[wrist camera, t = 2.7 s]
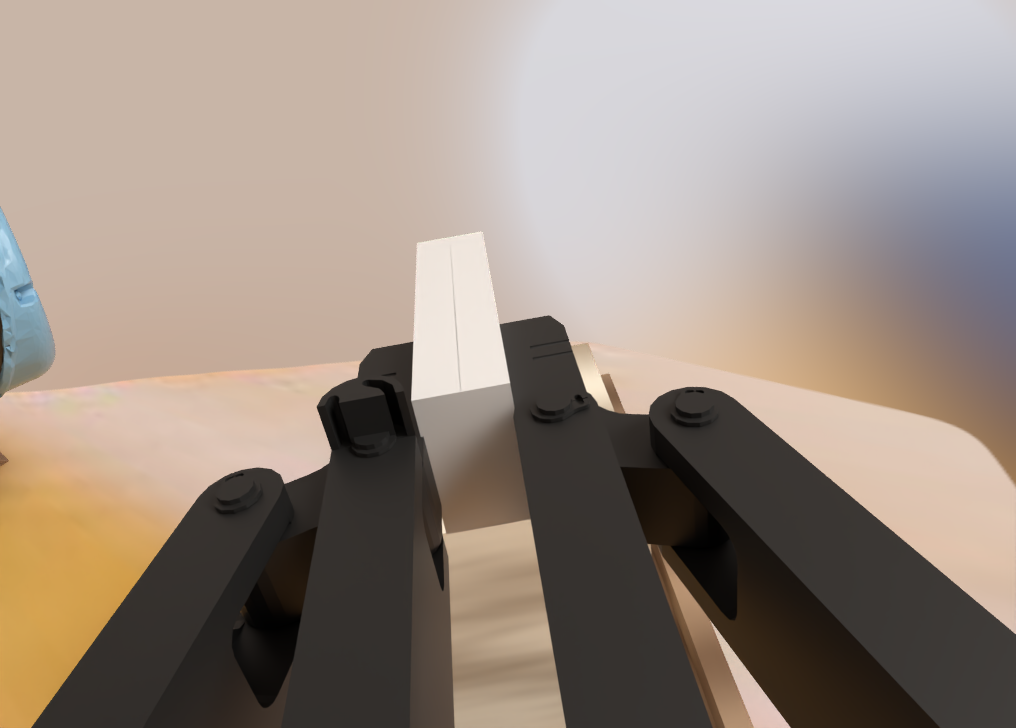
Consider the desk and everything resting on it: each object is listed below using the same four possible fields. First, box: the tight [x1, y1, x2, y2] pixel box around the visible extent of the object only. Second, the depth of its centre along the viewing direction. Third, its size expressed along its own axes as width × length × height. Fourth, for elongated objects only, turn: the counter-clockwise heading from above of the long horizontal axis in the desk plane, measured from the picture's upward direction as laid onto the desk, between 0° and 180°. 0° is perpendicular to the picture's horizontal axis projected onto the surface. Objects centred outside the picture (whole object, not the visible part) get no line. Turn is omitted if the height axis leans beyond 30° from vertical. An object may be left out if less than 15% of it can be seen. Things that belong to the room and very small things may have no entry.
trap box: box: [601, 374, 754, 728], centre depth 31 cm, size 44×15×3 cm, turn 6°
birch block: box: [442, 343, 651, 728], centre depth 30 cm, size 10×9×12 cm
